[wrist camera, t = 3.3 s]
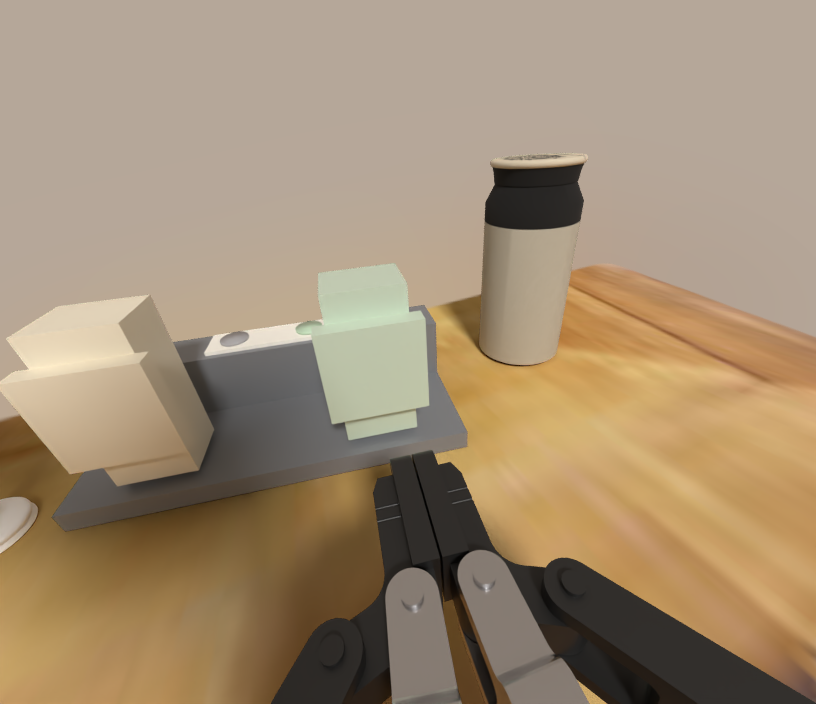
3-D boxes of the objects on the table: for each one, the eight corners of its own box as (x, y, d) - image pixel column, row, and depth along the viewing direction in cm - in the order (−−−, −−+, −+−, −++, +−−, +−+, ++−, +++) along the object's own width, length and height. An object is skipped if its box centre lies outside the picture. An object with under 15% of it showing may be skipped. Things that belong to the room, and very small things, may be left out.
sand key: (95, 504, 22) (-32, 353, 16) (133, 444, 26) (44, 308, 20) (205, 482, 23) (121, 331, 17) (223, 427, 27) (162, 293, 21)
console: (65, 531, 23) (-10, 454, 19) (144, 411, 33) (105, 346, 29) (466, 446, 26) (469, 369, 23) (426, 362, 37) (423, 299, 33)
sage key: (339, 455, 24) (303, 306, 18) (336, 406, 28) (307, 274, 23) (430, 436, 25) (424, 288, 19) (414, 392, 29) (405, 261, 24)
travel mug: (485, 369, 35) (498, 163, 25) (474, 331, 42) (480, 157, 32) (568, 366, 34) (611, 155, 25) (542, 328, 41) (569, 151, 32)
